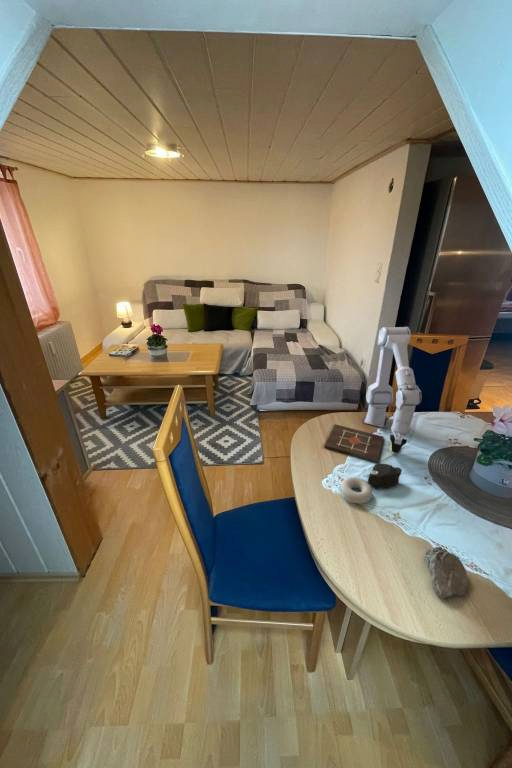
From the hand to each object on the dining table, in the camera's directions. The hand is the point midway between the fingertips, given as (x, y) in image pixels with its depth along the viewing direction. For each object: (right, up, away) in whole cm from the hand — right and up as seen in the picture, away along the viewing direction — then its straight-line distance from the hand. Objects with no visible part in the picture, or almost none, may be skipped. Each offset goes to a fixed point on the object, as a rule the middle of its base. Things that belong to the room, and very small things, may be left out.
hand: (395, 448), depth 114 cm
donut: (-20, -12, -15) cm, 28 cm away
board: (-13, +1, +7) cm, 15 cm away
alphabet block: (0, -1, +1) cm, 2 cm away
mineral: (-10, -9, -11) cm, 17 cm away
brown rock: (-7, -23, -39) cm, 46 cm away
